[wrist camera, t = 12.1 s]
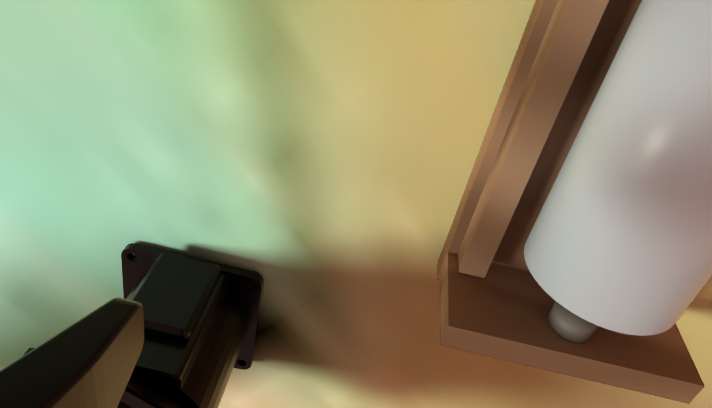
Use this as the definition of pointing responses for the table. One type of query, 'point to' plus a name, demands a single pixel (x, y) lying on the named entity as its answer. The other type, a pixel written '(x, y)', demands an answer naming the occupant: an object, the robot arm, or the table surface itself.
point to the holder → (523, 205)
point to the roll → (637, 182)
